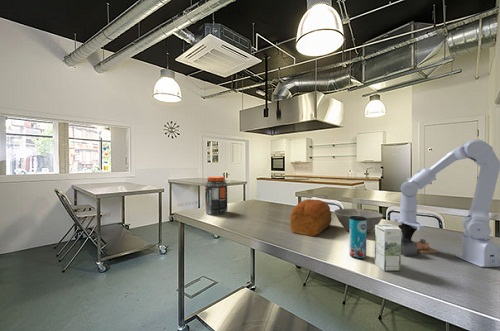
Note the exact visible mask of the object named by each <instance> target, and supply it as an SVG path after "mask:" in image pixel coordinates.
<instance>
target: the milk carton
mask: <svg viewBox="0 0 500 331" xmlns="http://www.w3.org/2000/svg"><path fill="white" fill-rule="evenodd" d="M401 237H402V232H401V229H400V228H399V226H396V225H394V224H391V223H390V224H389V223H388V224H386V223H383V224H382V223H379V224H378V225H375V229H374V265H375V264H376V265H375V266H377V267H378V266H379V267H380V268H379V267H378V268H379V269H381V271H383V270H384V272H401V260H402V259H401V258H402V257H401V256H402V255H401Z"/></svg>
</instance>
